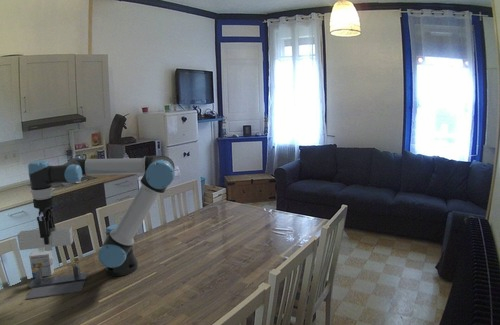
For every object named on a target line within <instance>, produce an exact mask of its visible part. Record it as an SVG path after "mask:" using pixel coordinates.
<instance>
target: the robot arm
mask: <svg viewBox="0 0 500 325" xmlns="http://www.w3.org/2000/svg"><path fill="white" fill-rule="evenodd" d="M27 168H28V177H29V183H30V188H31V190H30V193H31V195H32V198H33V199H32V203H33V207H34V209H38V216H37V217H36V220H37V226H38V229H39V231H40V238H43V242H44V250H45V251H51V252H52V251H53V247H52V243H51V236H49V228H56V223H55V215H54V205H55V199H54V191H53V185H52V184H73V183H78V182H81V180H82V178H83V176H107V175H108V176H109V175H111V176H112V175H142V177H141V179H140V181H139V182H140V185H141V186H140V187H139V189H138V191H137V192H136V194H135V195H134V197H133V199H132V201H131V202H130V204H129V206H128V208H127V209H126V211H125V213H124V215H123V216H122V218H121V220H120V221H119V223H116V224H112V225H109V226H107V227H106V228H105V240H104V241H103V243H102V245H101V247H100V248H99V251H98V254H97V256H98V260H99V262H100V264H102V265H103V266H104V267H105V271H106V274H107V275H109V276H112V277H121V276H126V275H130V274H132V273H133V272H135V271H137V269H139V262H138V259H137V257H136V255H135V253H134V248H133V247H134V246H133V245H134V244H135V240H134V239H135V238H134V237H135V235H136V234H137V232H138V231H139V229H140V227H141V225H142V224H143V222H144V220H145V219H146V217H147V215H148V213H149V212H150V210H151V208H152V206H153V205H154V204H155V202H156V200H157V198H158V197H159V195H162V194H164V193H165V192H166V190H167V188H168V187H169V186H170V185H171V184H172V182H173V181H174V179H175V169H176V167H175V163H174V161H173V159H171V158H170V157H169V156H166V155H164V154H163V155H161V154H160V155H159V154H158V155H145V156H144V157H136V158H132V157H131V158H127V157H126V158H80V157H73V158H71V159H69V160H68V161H67V162H65V163H64V164H61V165H50V163H49V161H47V160H36V161H31V162H29V163H28V165H27Z"/></svg>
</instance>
